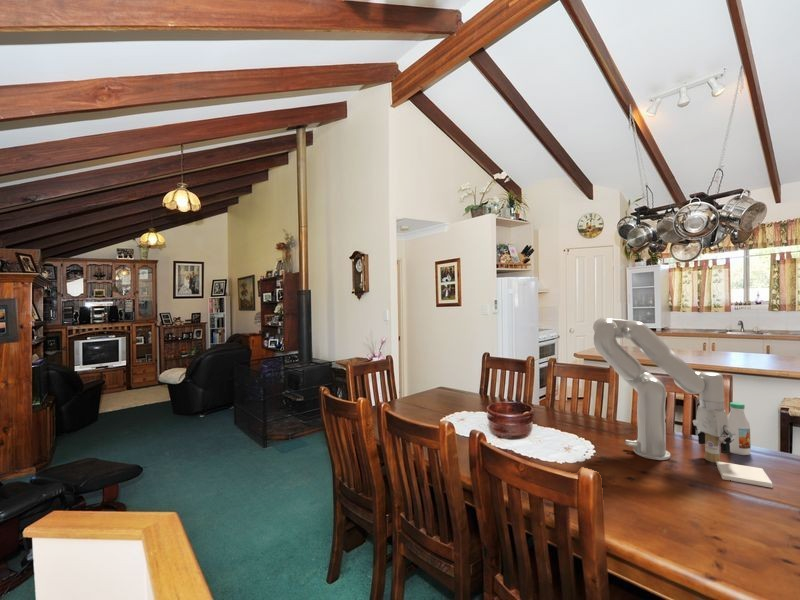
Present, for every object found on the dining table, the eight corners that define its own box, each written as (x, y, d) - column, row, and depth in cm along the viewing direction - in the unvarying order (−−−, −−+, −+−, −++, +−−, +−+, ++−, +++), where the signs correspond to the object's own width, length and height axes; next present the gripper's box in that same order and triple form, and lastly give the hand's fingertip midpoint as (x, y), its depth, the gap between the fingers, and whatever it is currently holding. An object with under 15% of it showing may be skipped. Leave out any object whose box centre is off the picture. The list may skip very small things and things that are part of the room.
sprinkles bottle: (705, 461, 150) (704, 426, 150) (705, 457, 154) (704, 423, 154) (720, 464, 148) (719, 428, 147) (720, 460, 151) (719, 425, 151)
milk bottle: (730, 454, 156) (729, 405, 156) (722, 447, 163) (721, 400, 163) (754, 456, 153) (753, 406, 153) (745, 449, 160) (744, 401, 160)
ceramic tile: (722, 479, 136) (722, 474, 136) (716, 465, 147) (716, 461, 147) (772, 487, 129) (772, 483, 129) (762, 472, 140) (762, 468, 140)
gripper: (684, 399, 159) (686, 441, 159) (724, 411, 142) (726, 457, 142) (701, 398, 160) (702, 439, 160) (742, 409, 142) (744, 456, 142)
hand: (713, 448), depth 151 cm, fingers open, 9 cm apart
